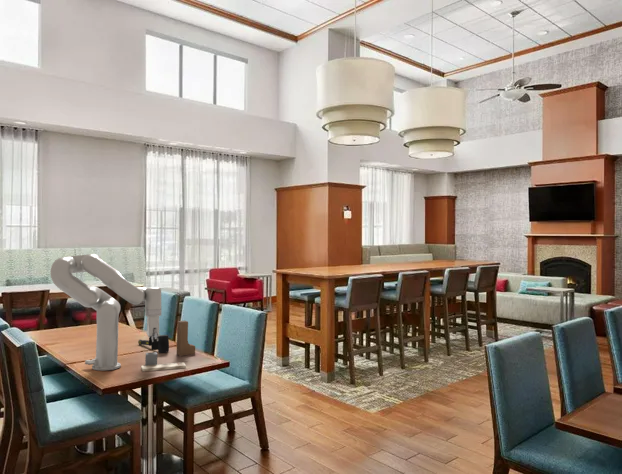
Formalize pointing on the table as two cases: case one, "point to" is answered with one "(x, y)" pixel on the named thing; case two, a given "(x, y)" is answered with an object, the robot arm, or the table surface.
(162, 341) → the mallet
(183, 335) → the wooden block
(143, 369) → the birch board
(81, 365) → the table surface
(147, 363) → the block
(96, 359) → the robot arm
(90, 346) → the table surface
